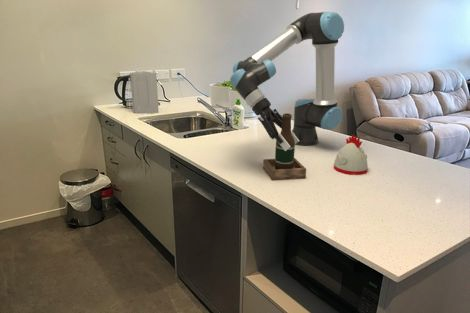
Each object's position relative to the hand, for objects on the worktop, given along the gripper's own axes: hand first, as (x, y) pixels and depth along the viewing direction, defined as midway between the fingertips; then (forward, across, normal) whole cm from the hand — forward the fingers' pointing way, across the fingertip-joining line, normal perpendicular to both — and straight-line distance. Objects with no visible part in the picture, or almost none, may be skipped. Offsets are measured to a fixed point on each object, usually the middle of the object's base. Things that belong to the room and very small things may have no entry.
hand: (292, 145), depth 145 cm
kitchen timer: (+23, -19, +5) cm, 30 cm away
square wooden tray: (+7, 0, -11) cm, 13 cm away
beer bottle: (+6, 0, -10) cm, 12 cm away
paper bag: (-89, -62, -107) cm, 152 cm away
